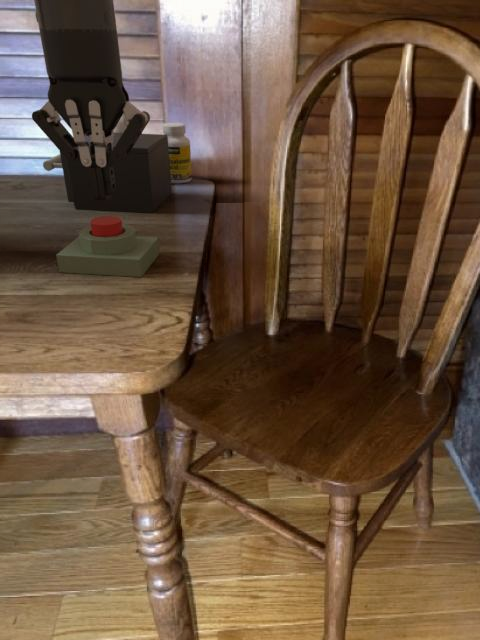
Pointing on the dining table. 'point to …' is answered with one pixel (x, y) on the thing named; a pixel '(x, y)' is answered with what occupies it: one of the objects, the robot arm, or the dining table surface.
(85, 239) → the control block
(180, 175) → the supplement bottle
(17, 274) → the dining table surface
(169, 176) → the dark grey storage box
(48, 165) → the drawer
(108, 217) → the button
